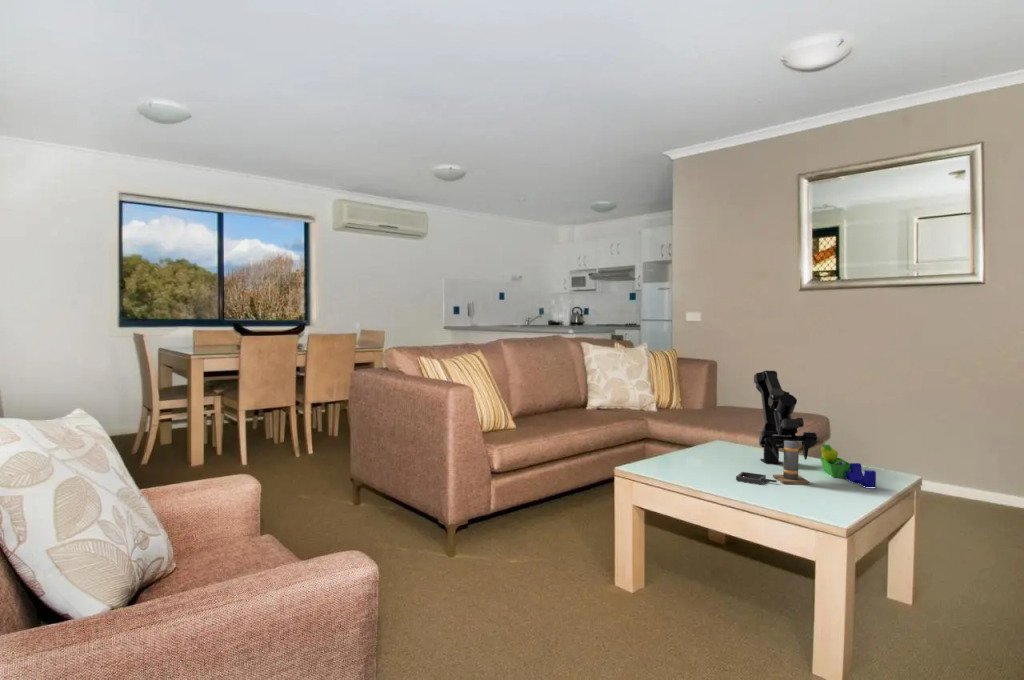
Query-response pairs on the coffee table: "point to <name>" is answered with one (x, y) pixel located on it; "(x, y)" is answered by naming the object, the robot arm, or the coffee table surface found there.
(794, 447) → the orange-banded grey cylinder
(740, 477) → the collar
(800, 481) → the walnut pad
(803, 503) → the coffee table surface
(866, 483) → the cable clip
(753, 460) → the coffee table surface
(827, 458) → the fruit basket
